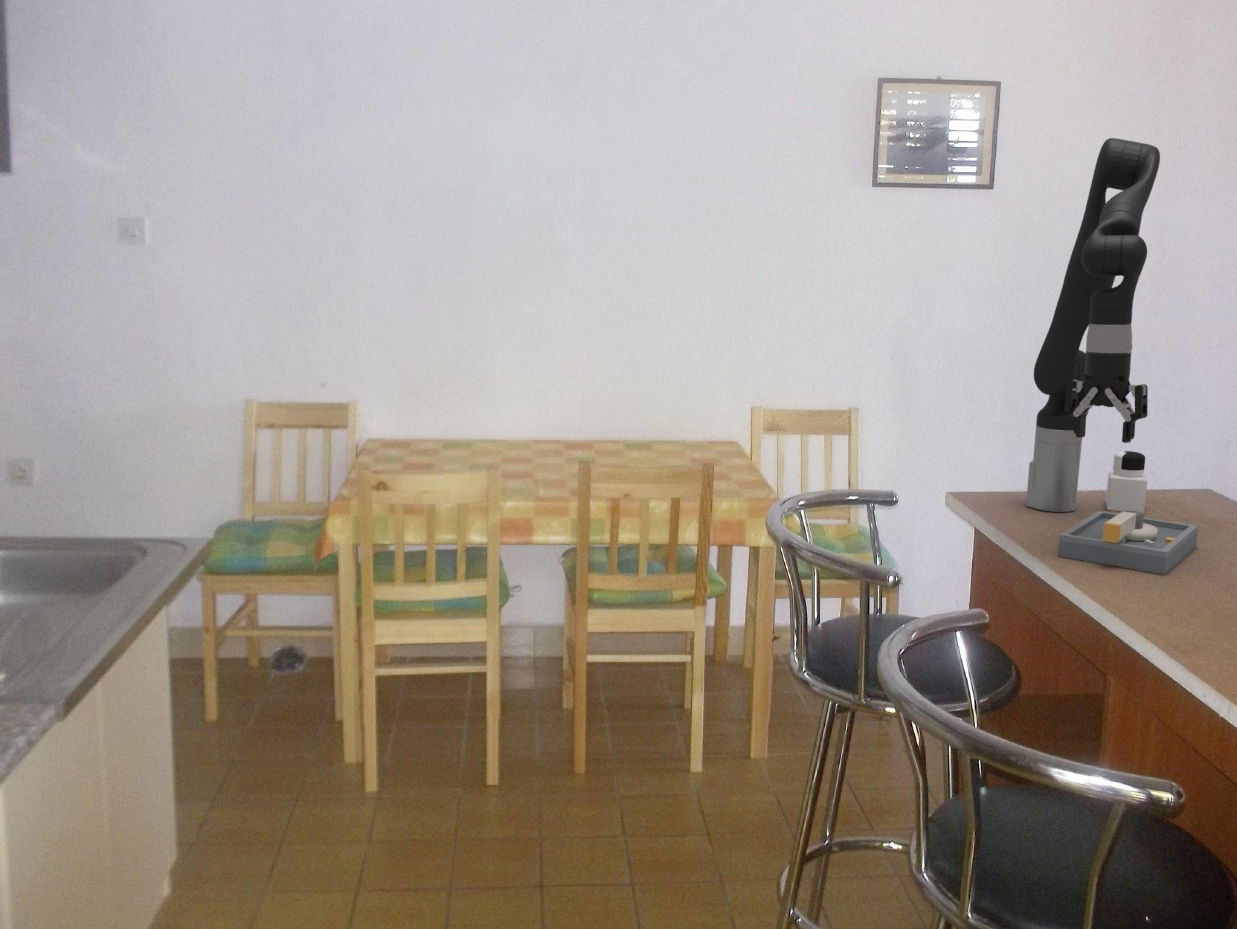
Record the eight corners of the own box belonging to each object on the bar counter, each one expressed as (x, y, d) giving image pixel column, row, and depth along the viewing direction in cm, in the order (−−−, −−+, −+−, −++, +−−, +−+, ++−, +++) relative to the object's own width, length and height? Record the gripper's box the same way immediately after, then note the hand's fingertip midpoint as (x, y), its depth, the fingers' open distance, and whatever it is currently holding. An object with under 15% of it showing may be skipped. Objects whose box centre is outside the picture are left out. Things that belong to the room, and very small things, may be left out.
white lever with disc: (1111, 525, 230) (1113, 502, 229) (1162, 533, 225) (1164, 509, 224) (1082, 545, 215) (1084, 520, 215) (1135, 554, 210) (1138, 528, 209)
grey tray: (1057, 556, 220) (1059, 534, 219) (1096, 530, 239) (1098, 510, 238) (1164, 574, 210) (1166, 552, 209) (1195, 546, 229) (1198, 525, 228)
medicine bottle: (1141, 506, 261) (1147, 450, 258) (1143, 513, 254) (1149, 456, 252) (1105, 503, 263) (1111, 448, 261) (1107, 510, 256) (1112, 454, 254)
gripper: (1060, 348, 220) (1055, 438, 223) (1139, 353, 210) (1133, 446, 213) (1080, 346, 226) (1075, 433, 228) (1157, 350, 215) (1151, 441, 218)
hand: (1103, 439), depth 221 cm, fingers open, 8 cm apart
